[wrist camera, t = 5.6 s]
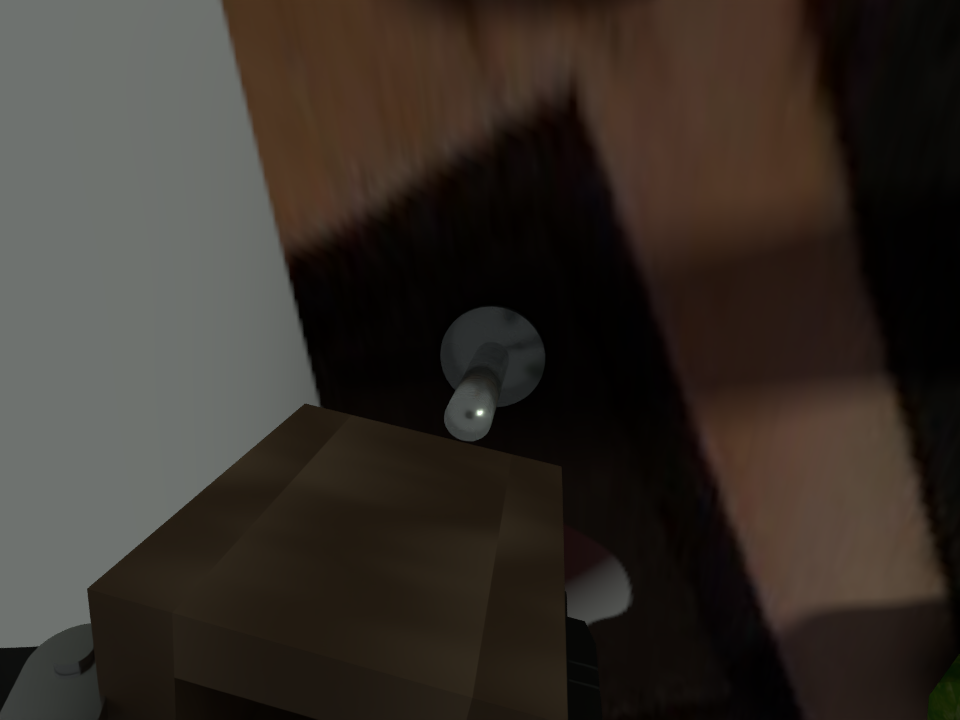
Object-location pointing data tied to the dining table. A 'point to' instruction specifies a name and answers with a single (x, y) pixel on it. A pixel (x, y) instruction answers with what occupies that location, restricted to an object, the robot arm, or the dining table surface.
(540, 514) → the collar
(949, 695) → the lettuce
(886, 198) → the dining table surface
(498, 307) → the post
